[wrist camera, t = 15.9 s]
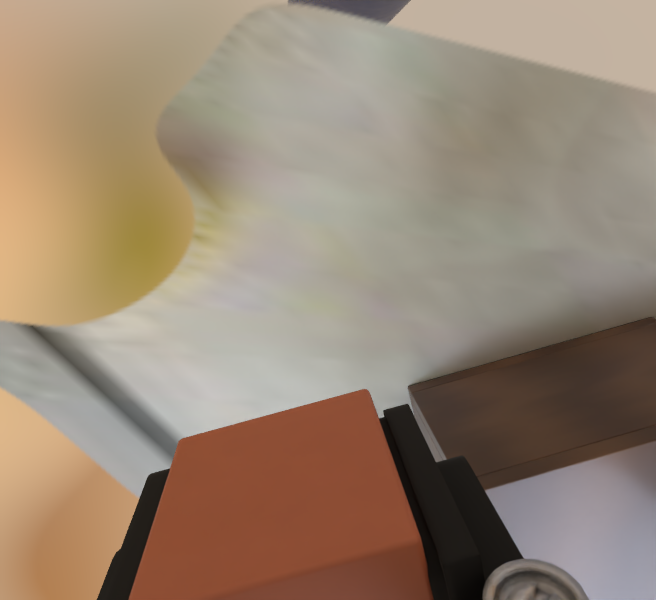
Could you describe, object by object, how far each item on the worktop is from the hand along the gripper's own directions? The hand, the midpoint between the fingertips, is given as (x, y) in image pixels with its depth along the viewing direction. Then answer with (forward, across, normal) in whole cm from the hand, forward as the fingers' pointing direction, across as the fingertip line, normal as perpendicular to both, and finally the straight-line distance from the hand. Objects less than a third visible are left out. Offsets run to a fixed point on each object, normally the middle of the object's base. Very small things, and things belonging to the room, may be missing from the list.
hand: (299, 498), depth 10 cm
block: (0, 0, 0) cm, 0 cm away
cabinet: (+16, -12, +14) cm, 25 cm away
